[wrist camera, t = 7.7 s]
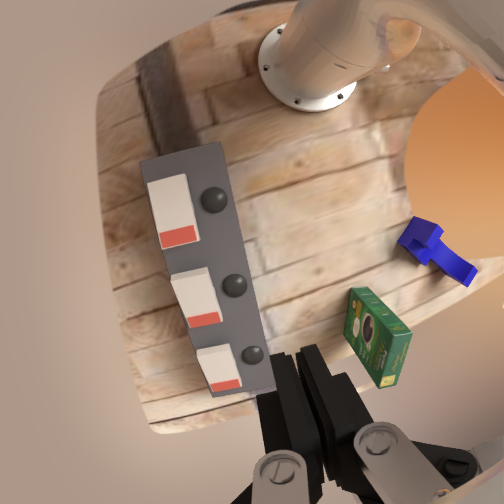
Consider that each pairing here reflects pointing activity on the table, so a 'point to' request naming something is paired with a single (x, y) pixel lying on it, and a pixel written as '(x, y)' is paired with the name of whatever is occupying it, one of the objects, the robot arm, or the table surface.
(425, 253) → the blue piece
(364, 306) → the coffee box
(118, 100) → the table surface
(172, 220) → the rocker
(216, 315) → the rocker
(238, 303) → the rocker switch panel
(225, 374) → the rocker
